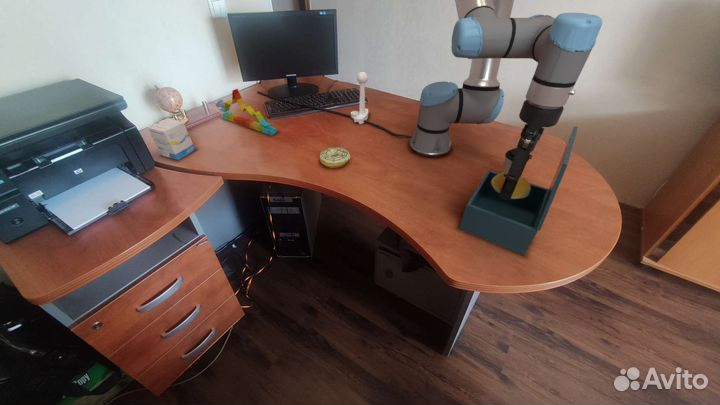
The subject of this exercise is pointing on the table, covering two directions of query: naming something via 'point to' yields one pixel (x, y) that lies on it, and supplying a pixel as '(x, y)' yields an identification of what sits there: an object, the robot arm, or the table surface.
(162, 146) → the ink box
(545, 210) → the lid
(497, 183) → the bread roll
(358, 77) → the joystick
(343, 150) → the decorated donut
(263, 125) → the colourful triangular block frame
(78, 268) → the table surface
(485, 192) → the dark teal hollow box
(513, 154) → the coffee cup
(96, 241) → the table surface
